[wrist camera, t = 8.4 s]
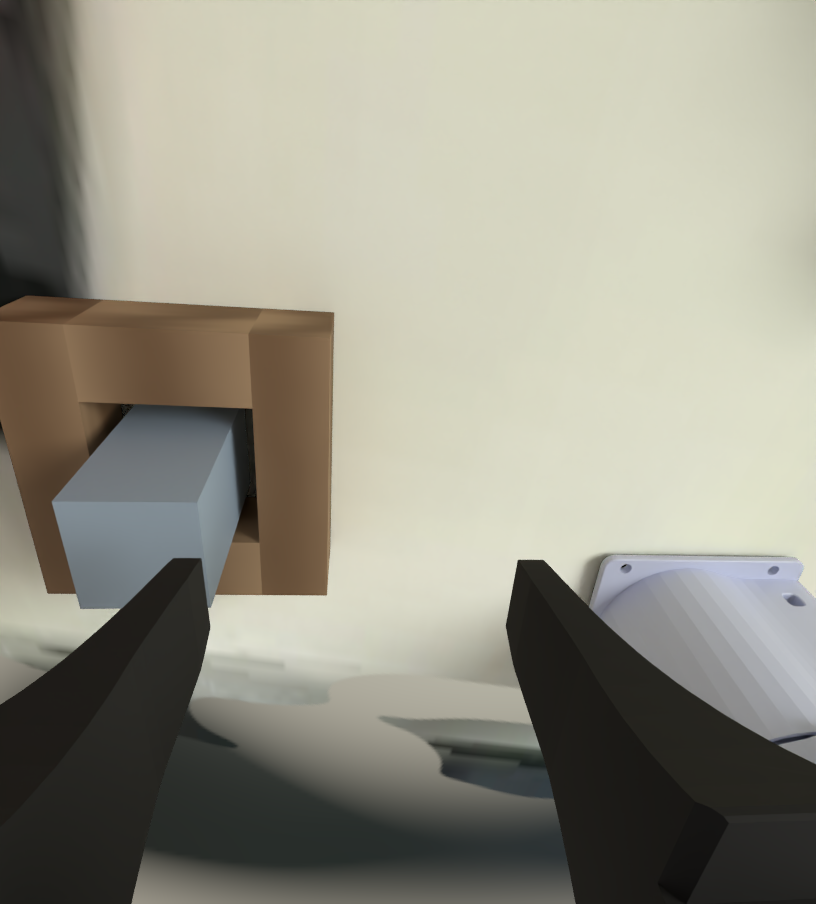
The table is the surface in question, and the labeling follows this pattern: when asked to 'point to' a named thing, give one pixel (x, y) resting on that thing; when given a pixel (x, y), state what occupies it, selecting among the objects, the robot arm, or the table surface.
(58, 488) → the socket block
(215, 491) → the peg
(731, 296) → the table surface
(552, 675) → the robot arm
